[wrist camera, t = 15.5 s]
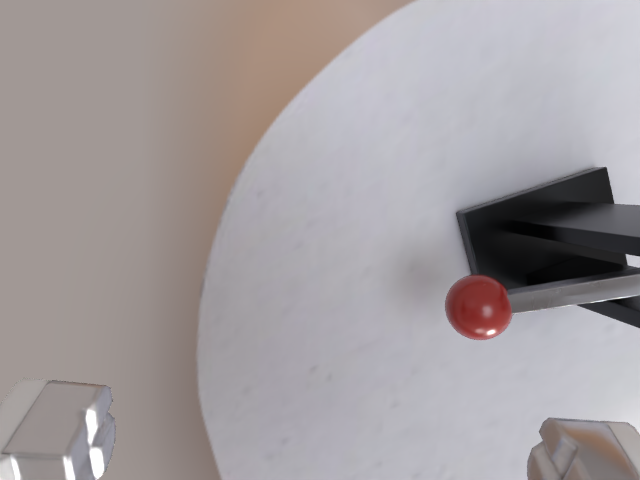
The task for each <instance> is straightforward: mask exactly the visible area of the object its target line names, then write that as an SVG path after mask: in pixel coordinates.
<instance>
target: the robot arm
mask: <svg viewBox="0 0 640 480" xmlns="http://www.w3.org/2000/svg"><path fill="white" fill-rule="evenodd" d="M112 402H113V400H112V393H111V388H110V387H108V386H106V385H96V384H86V383H76V382H66V381H55V380H52V381H49V380H40V379H28V378H23V379H22V380H20V381H19V382H17V383H16V384H15V385H14V386H13V388H12V389H11V391H10V392H9V393H8V395H7V396H6V397H5V399H4V400H3V402H2V403H1V404H0V480H96V479H97V478H98V477H99V476H101V475H102V474H103V473H105V472H106V469H107V467H108V464H109V462H110V459H111V456H112V452H113V448H114V443H115V434H116V426H115V418H113V417H112V415H111V414H110V413H108V410H109V408H110V406H111V404H112ZM539 433H540V435H541V437H542V439H543V441H542V442H541V443H539V444H538V445H536V446H535V447H533V448H532V450H531V453H530V456H529V458H528V464H527V477H528V480H640V435H639V433H638V432H637V430H636V429H635V428H634V427H633V426H632V425H630V424H629V423H625V422H610V421H600V422H599V421H594V420H578V419H562V418H548V419H547V420H545V421H544V422H543V424H542V426H541V429H540V431H539Z"/></svg>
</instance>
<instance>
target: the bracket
mask: <svg viewBox="0 0 640 480" xmlns="http://www.w3.org/2000/svg"><path fill="white" fill-rule="evenodd" d="M456 215H457V219H458V222H459V226H460V230H461V234H462V238H463V241H464V245H465V249H466V253H467V257H468V261H469V264H470V268H471V272H472V275H475V274H481V275H487V276H490V277H493V278H495V279H497V280H498V281H499V282H501V283H502V284H503V285H504V286H505V287H506V289H507V290H509V289H515V288H521V287H527V286H533V285H539V284H545V283H551V282H557V281H563V280H569V279H575V278H581V277H586V276H592V275H598V274H604V273H610V272H616V271H622V270H628V269H634V268H637V267H632V266H628V265H627V260H626V255H625V254H629V255H634V256H640V205H624V204H614V200H613V195H612V190H611V186H610V181H609V176H608V172H607V168H606V167H597V168H593V169H589V170H586V171H583V172H580V173H577V174H574V175H571V176H568V177H565V178H562V179H559V180H555V181H552V182H549V183H546V184H543V185H540V186H537V187H534V188H531V189H528V190H525V191H521V192H518V193H515V194H512V195H509V196H506V197H503V198H500V199H497V200H494V201H491V202H487V203H484V204H481V205H478V206H475V207H472V208H469V209H466V210H463V211H460V212H457V213H456ZM578 306H580V307H583V308H586V309H589V310H591V311H594V312H597V313H599V314H602V315H605V316H608V317H610V318H613V319H616V320H619V321H621V322H624V323H627V324H630V325H632V326H635V327H638V328H640V295H638V296H631V297H625V298H618V299H611V300H605V301H598V302H591V303H585V304H578ZM513 315H514V314H513Z"/></svg>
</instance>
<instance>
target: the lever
mask: <svg viewBox="0 0 640 480" xmlns="http://www.w3.org/2000/svg"><path fill="white" fill-rule="evenodd" d="M638 295H640V268H634V269H628V270H622V271H616V272H610V273H604V274H598V275H592V276H586V277H581V278H575V279H569V280H563V281H557V282H551V283H545V284H539V285H533V286H527V287H521V288H515V289H509V290H507V289H506V287H505V286H504V285H503V284H502V283H501V282H499V281H498V280H497V279H495V278H493V277H490V276H487V275H481V274H475V275H469V276H466V277H463V278H462V279H460V280H458V281H457V282H456V283H455V284H454V285H453V286H452V287H451V288H450V290H449V292H448V294H447V297H446V301H445V311H446V315H447V318H448V320H449V322H450V324H451V325H452V327H453V328H454V329H455V330H456V331H457V332H458V333H460V334H461V335H463V336H465V337H467V338H470V339H474V340H487V339H491V338H493V337H496V336H497V335H499V334H501V333H502V332H503V331H504V330H505V329H506V328H507V326H508V325H509V323H510V321H511V319H512V315H513V314H518V313H525V312H531V311H538V310H545V309H551V308H558V307H565V306H571V305H578V304H585V303H591V302H598V301H605V300H611V299H618V298H625V297H631V296H638Z"/></svg>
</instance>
